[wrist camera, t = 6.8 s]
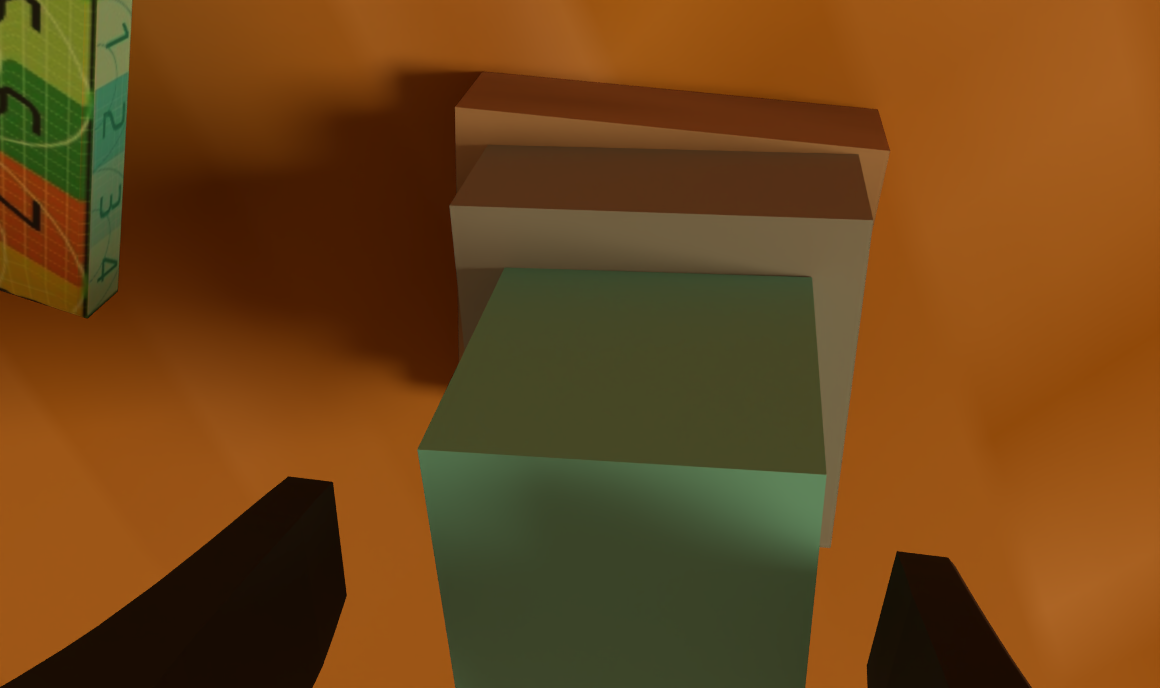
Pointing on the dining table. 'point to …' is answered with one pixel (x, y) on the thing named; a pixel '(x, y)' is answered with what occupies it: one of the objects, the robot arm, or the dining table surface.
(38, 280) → the puzzle game
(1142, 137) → the dining table surface
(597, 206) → the beige square block
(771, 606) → the teal cube
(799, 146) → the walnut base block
